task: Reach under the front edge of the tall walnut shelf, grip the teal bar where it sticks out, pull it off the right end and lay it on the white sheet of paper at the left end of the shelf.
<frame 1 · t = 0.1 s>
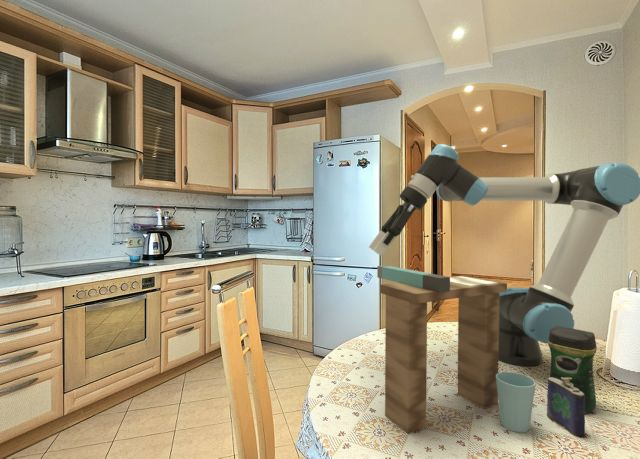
hand: (374, 251, 107), 36 cm above the table, tool tilted 35°, fingers open, 13 cm apart
coffee jar: (570, 404, 89), on the table
flask: (565, 426, 80), on the table
teal bar: (409, 283, 86), point 30 cm above the table, touching shelf
shelf: (443, 409, 87), on the table
cup: (514, 426, 80), on the table
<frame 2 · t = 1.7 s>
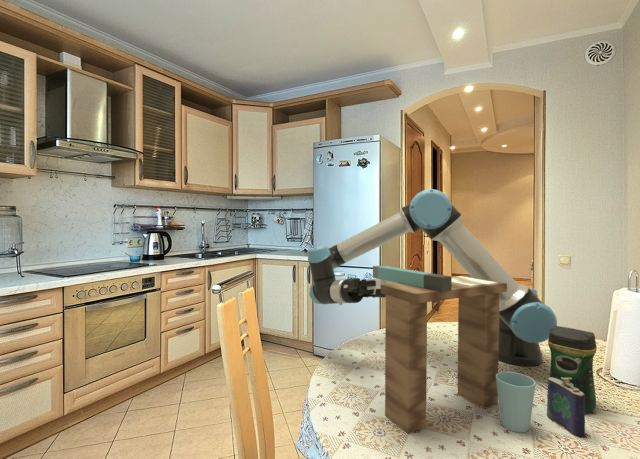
hand: (402, 287, 99), 27 cm above the table, tool horizontal, fingers open, 13 cm apart
teal bar: (408, 283, 86), point 30 cm above the table
everything else where it was.
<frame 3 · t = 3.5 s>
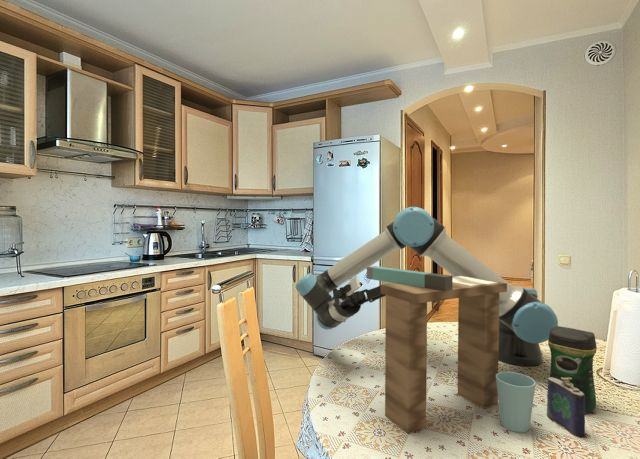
hand: (379, 280, 96), 29 cm above the table, tool pointing upward, fingers open, 13 cm apart
teal bar: (405, 283, 86), point 30 cm above the table, touching shelf
everything else where it was.
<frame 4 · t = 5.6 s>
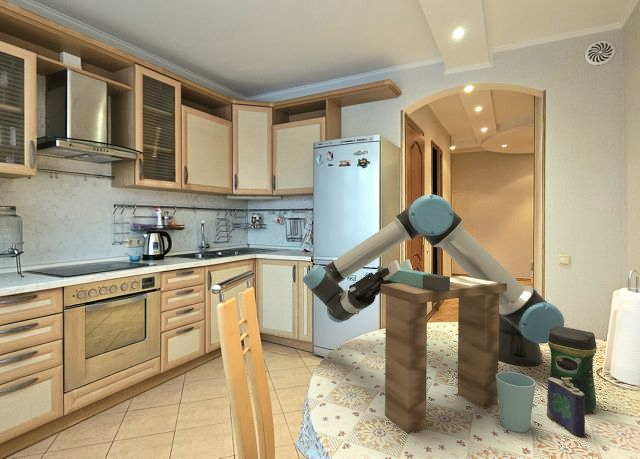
hand: (403, 264, 88), 34 cm above the table, tool pointing upward, fingers closed on teal bar, 3 cm apart
teal bar: (409, 283, 86), point 30 cm above the table, touching gripper
everything else where it was.
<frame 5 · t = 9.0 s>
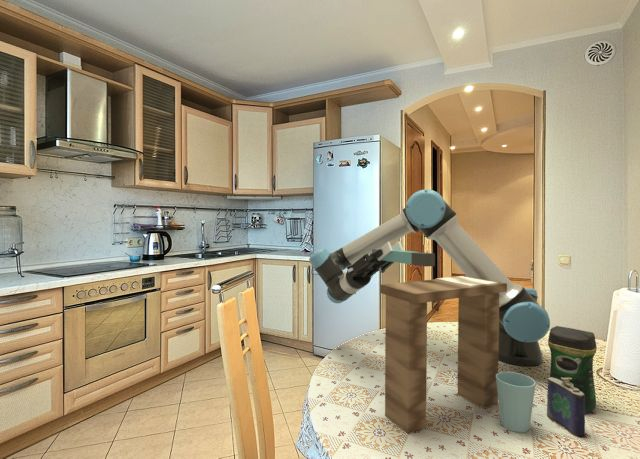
hand: (395, 246, 100), 38 cm above the table, tool pointing upward, fingers closed on teal bar, 3 cm apart
teal bar: (400, 262, 98), point 34 cm above the table, touching gripper
everything else where it was.
when the fingers open (36 cm above the table, at t = 12.0 s): teal bar drops 1 cm, resting on shelf.
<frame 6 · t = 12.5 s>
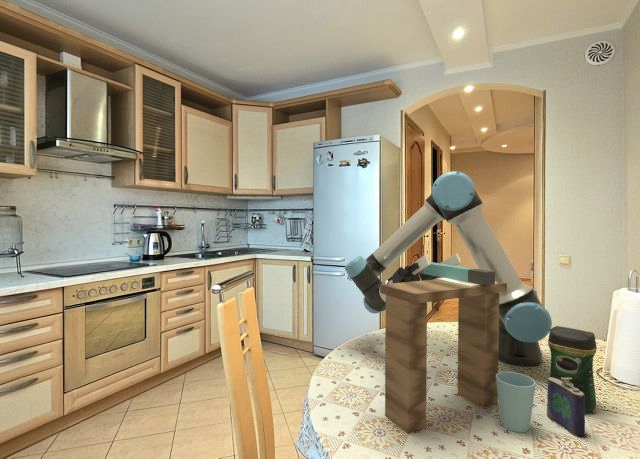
hand: (443, 258, 95), 35 cm above the table, tool pointing upward, fingers open, 10 cm apart
teal bar: (452, 278, 92), point 30 cm above the table, touching shelf
everything else where it was.
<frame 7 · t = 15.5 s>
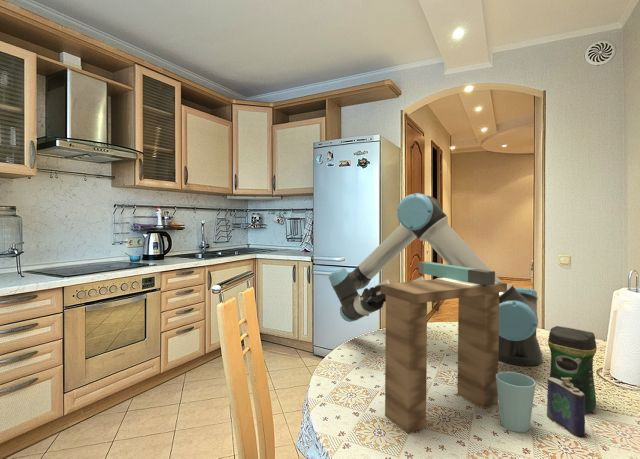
hand: (406, 282, 110), 26 cm above the table, tool pointing upward, fingers open, 13 cm apart
nothing on the table moved.
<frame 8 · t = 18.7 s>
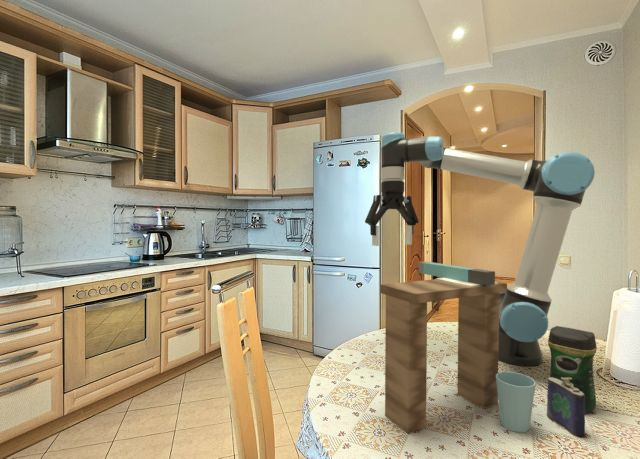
hand: (392, 245, 121), 37 cm above the table, tool pointing down, fingers open, 13 cm apart
nothing on the table moved.
at the end: teal bar inside the target area (0.5 cm from its centre), point 30.3 cm above the table; teal bar tilted 0°; the gripper is holding nothing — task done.
